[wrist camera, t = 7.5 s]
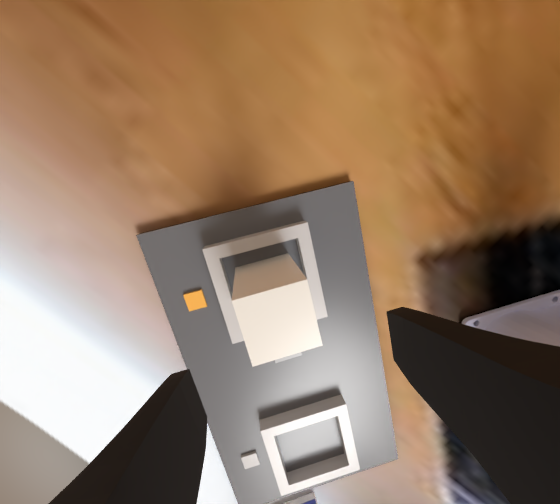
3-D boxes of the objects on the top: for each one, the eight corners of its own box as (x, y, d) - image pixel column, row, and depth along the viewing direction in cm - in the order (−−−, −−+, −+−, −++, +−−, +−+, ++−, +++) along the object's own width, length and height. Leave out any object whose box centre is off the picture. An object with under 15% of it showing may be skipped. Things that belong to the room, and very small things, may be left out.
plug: (287, 253, 18) (307, 279, 12) (301, 306, 18) (324, 352, 13) (235, 267, 17) (231, 300, 12) (251, 320, 18) (254, 373, 13)
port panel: (350, 181, 18) (359, 180, 16) (395, 453, 23) (405, 470, 22) (139, 233, 16) (129, 237, 15) (241, 504, 22) (241, 526, 21)
